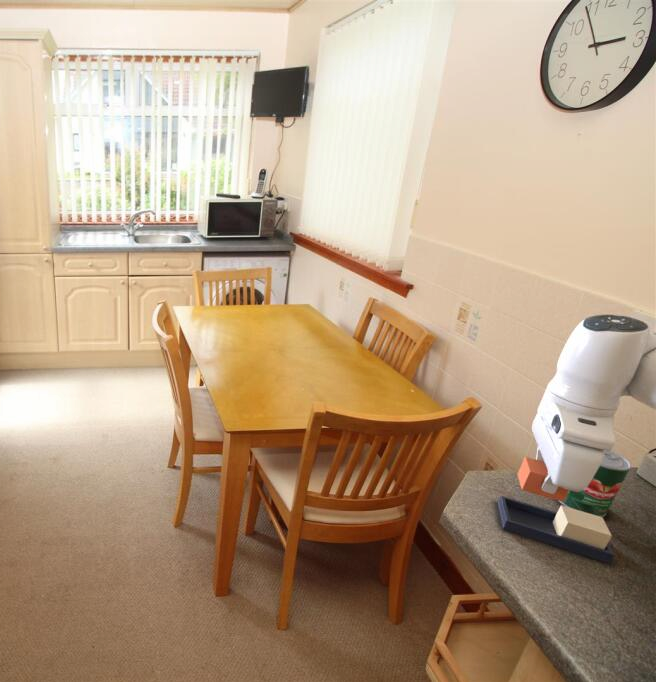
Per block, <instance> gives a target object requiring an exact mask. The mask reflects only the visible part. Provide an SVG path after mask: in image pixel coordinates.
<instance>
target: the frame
mask: <svg viewBox="0 0 656 682" xmlns="http://www.w3.org/2000/svg"><path fill="white" fill-rule="evenodd" d="M497 508H498V512H499V516H500V522H501V526H502V530H504V531H507V532H511V533H514V534H517V535H520V536H523V537H525V538H528V539H532V540H534V541H537V542H541V543H544V544H546V545H547V544H548V545H551V546H554V547H557V548H560V549H563V550H566V551H568V552H572V553H575V554H577V555H581V556H584V557H587V558H590V559H594V560H596V561H600V562H603V563H606V564H609V565H610V564H611V563H612V560H613V558H614V556H615V553H614V551H613V549H612V547H611V544H610V542H608V544H607V546H606V548H605V549H600V548H597V547H594V546H591V545H588V544H585V543H582V542H578V541H575V540H572V539H569V538H566V537H563V536H560V535H557V533H556V530H555V528H554V525H553V521H554V518H555V516H556V514H557V512H558V511H554V510H551V509H547V508H544V507H540V506H537V505H534V504H530V503H527V502H523V501H520V500H517V499H514V498H510V497H507V496H503V495H500V496H499V498H498V501H497Z"/></svg>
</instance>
